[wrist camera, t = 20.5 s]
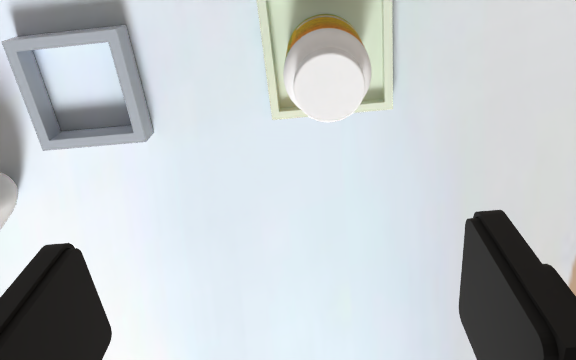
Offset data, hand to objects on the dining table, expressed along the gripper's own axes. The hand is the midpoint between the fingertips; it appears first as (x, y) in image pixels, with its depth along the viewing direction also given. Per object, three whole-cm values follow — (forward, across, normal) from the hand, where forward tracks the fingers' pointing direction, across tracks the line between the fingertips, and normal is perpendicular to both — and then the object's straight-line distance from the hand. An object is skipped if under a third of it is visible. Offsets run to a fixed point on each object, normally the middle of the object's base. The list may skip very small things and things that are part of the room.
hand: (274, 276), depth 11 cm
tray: (+26, -2, 0) cm, 26 cm away
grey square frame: (+27, +16, +1) cm, 31 cm away
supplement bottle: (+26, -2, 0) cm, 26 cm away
